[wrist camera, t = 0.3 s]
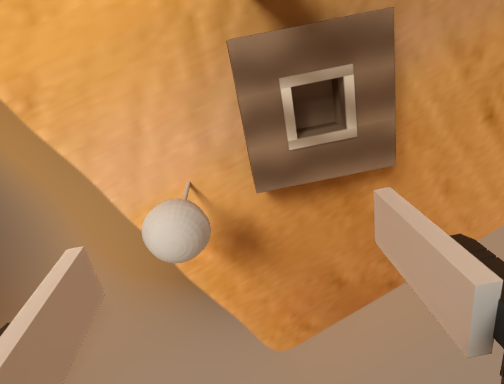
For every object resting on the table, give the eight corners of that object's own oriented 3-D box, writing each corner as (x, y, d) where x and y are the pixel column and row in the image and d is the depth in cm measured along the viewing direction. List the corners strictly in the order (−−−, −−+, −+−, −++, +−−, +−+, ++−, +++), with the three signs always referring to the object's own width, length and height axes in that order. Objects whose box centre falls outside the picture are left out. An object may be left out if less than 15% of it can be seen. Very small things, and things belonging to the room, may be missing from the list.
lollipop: (208, 156, 41) (202, 210, 28) (217, 200, 44) (215, 269, 30) (158, 165, 41) (126, 223, 27) (169, 208, 44) (145, 282, 30)
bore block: (226, 41, 37) (227, 40, 32) (372, 12, 37) (395, 6, 32) (253, 177, 43) (257, 194, 38) (377, 152, 43) (397, 166, 38)
